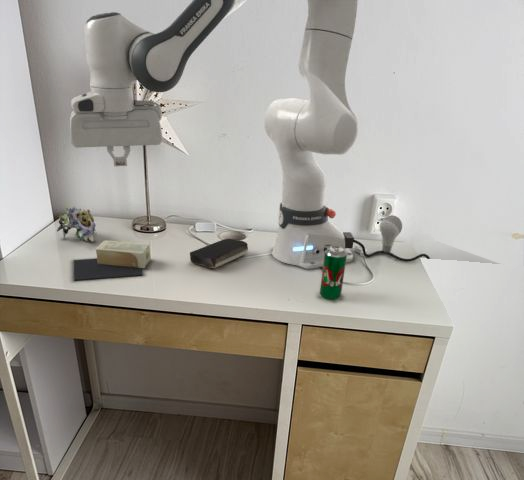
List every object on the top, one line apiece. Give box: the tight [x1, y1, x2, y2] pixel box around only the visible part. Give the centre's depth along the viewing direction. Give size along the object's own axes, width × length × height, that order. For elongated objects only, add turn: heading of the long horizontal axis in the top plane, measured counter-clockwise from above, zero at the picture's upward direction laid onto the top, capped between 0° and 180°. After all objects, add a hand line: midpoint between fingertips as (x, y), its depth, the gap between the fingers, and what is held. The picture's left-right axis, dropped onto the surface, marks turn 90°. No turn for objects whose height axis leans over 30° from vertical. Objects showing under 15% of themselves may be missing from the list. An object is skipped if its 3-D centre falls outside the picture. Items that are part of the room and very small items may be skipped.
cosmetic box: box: [95, 239, 152, 269], centre depth 132 cm, size 6×4×12 cm
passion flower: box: [56, 204, 98, 243], centre depth 144 cm, size 11×11×12 cm
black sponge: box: [189, 238, 249, 269], centre depth 138 cm, size 16×8×4 cm, turn 143°
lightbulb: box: [379, 214, 403, 253], centre depth 145 cm, size 6×6×11 cm
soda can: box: [319, 246, 347, 301], centre depth 120 cm, size 5×5×12 cm
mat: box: [73, 258, 143, 282], centre depth 130 cm, size 16×12×1 cm
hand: (120, 165), depth 121 cm, fingers closed
